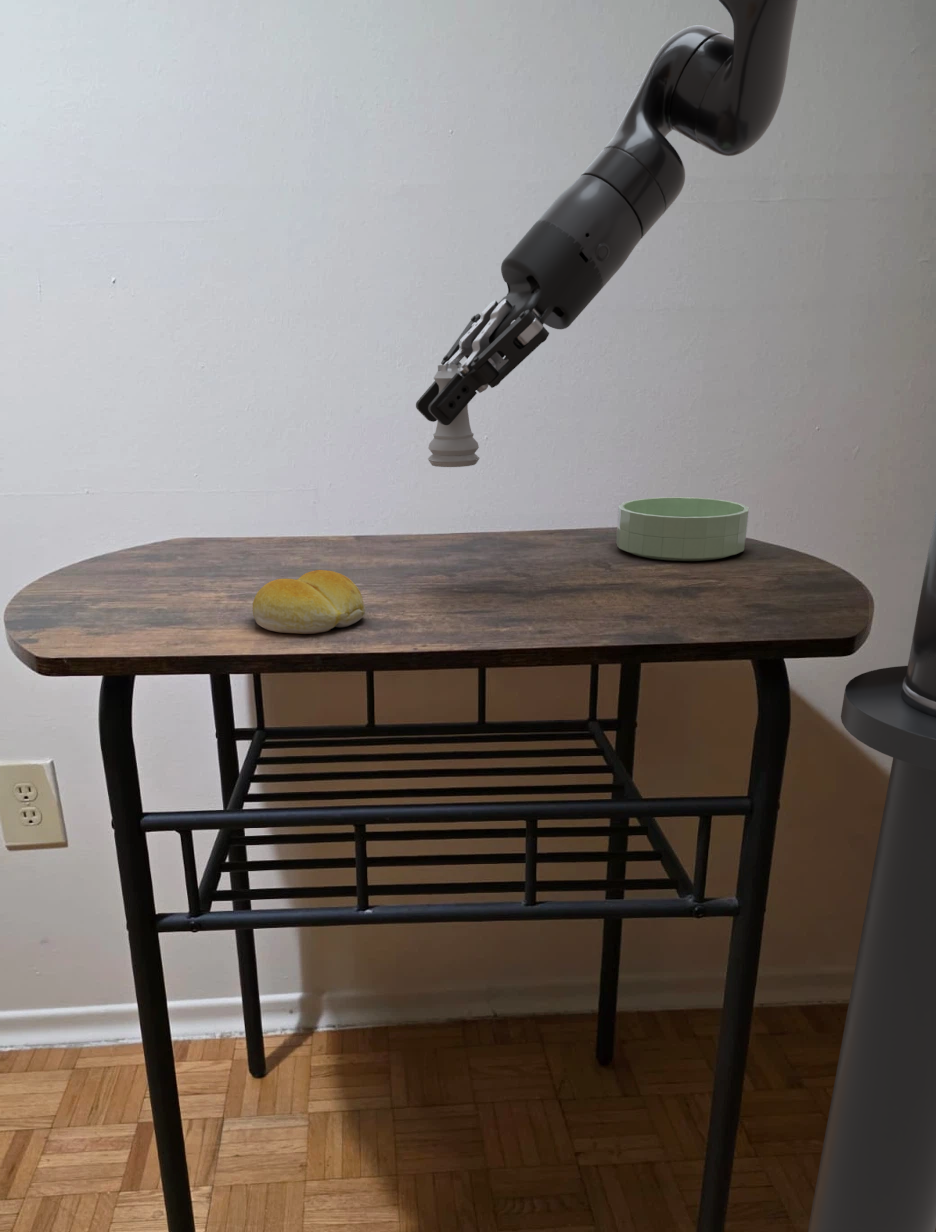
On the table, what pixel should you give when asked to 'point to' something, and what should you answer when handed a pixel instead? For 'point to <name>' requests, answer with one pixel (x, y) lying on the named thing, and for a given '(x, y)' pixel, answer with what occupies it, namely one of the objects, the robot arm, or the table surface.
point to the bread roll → (308, 603)
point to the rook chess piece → (452, 432)
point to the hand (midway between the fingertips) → (430, 415)
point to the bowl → (682, 528)
